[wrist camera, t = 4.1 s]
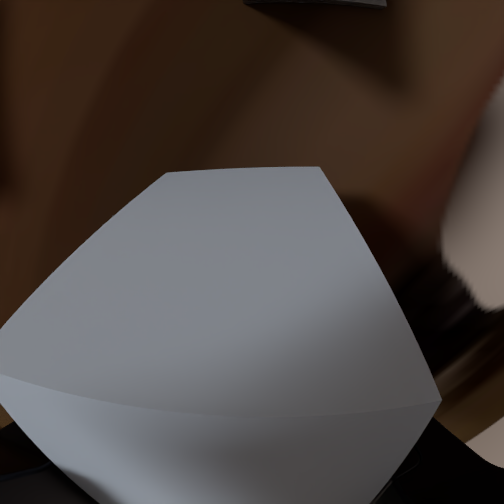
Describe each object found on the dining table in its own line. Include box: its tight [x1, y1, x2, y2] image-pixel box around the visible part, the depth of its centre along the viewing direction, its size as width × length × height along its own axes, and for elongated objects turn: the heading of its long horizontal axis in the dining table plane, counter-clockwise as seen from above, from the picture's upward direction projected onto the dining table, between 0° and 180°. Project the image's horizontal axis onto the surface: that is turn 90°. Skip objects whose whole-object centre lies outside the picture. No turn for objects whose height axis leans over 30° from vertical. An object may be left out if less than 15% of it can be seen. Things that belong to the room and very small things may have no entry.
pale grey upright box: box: [0, 167, 442, 504], centre depth 7 cm, size 4×8×7 cm, turn 3°
